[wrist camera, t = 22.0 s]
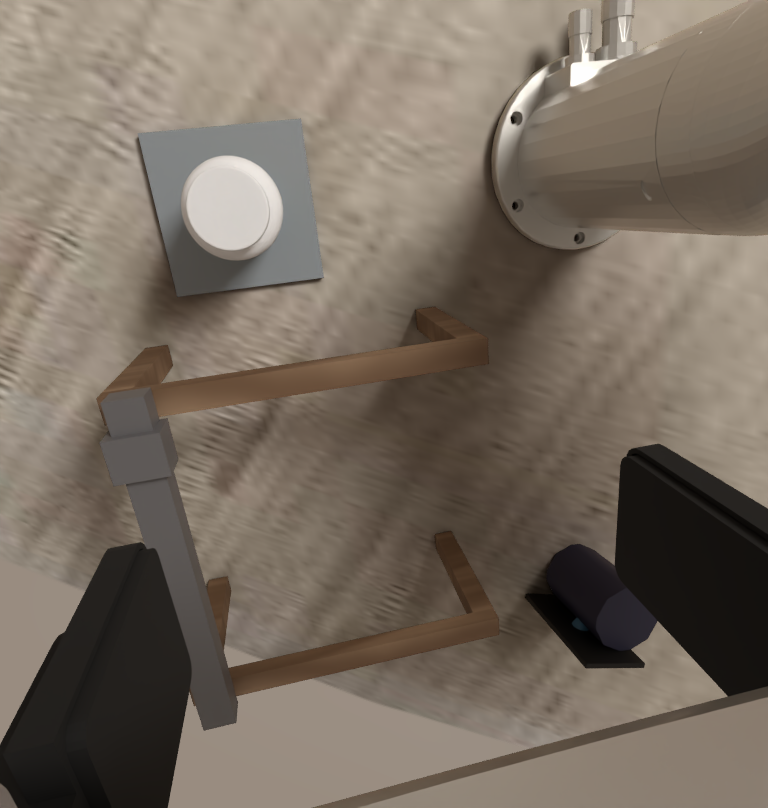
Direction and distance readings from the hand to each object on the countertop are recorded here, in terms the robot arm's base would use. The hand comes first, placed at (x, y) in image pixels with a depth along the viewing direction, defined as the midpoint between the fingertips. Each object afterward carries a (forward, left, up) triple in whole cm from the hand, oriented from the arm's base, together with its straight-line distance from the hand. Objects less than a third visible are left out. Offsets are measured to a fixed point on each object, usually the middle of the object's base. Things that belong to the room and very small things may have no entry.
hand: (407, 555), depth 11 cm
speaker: (+28, +20, -31) cm, 46 cm away
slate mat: (-7, -4, -30) cm, 31 cm away
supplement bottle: (-7, -4, -30) cm, 31 cm away
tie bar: (+12, -10, -19) cm, 25 cm away
